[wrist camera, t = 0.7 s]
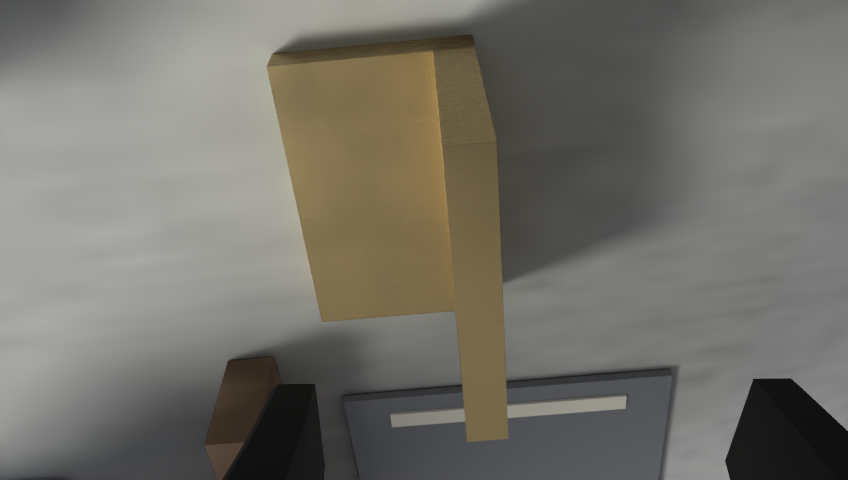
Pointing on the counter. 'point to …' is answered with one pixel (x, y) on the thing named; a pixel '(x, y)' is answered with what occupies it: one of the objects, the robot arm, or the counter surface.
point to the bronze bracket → (401, 195)
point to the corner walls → (238, 408)
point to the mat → (517, 431)
